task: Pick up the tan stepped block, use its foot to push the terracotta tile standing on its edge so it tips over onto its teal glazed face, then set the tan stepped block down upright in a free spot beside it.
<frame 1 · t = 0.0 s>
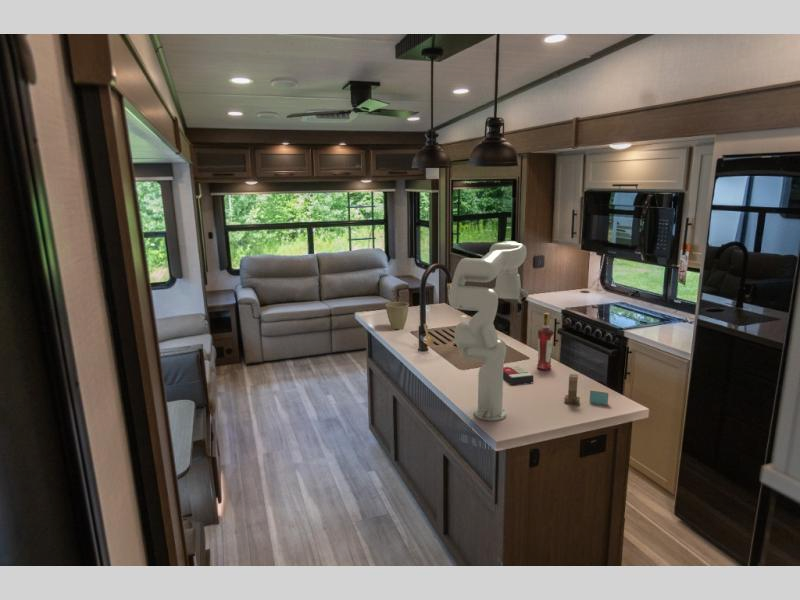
hand: (507, 311, 213), 37 cm above the counter, tool pointing down, fingers open, 9 cm apart
tan stepped block: (571, 402, 209), on the counter
plant pot: (397, 328, 323), on the counter
liquor: (544, 368, 248), on the counter
calculator: (515, 379, 237), on the counter
tile: (598, 403, 208), on the counter
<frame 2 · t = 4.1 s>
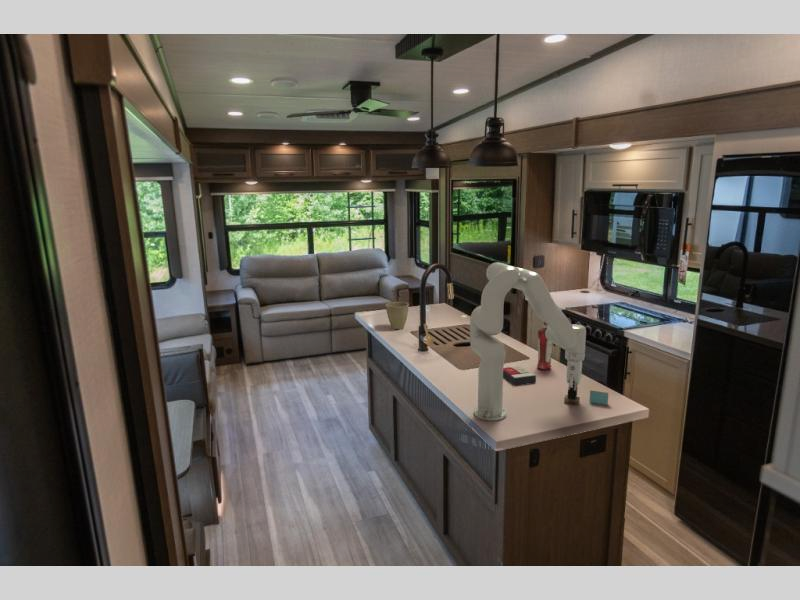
hand: (572, 396, 208), 3 cm above the counter, tool pointing down, fingers closed on tan stepped block, 3 cm apart
tan stepped block: (571, 402, 209), on the counter, touching gripper
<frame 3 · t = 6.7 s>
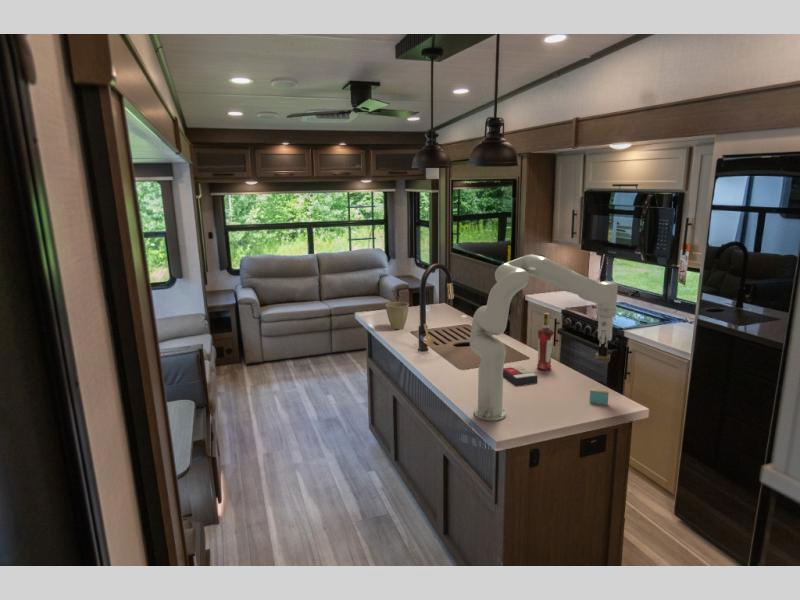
hand: (602, 353, 209), 19 cm above the counter, tool pointing down, fingers closed on tan stepped block, 3 cm apart
tan stepped block: (602, 360, 210), point 17 cm above the counter, touching gripper
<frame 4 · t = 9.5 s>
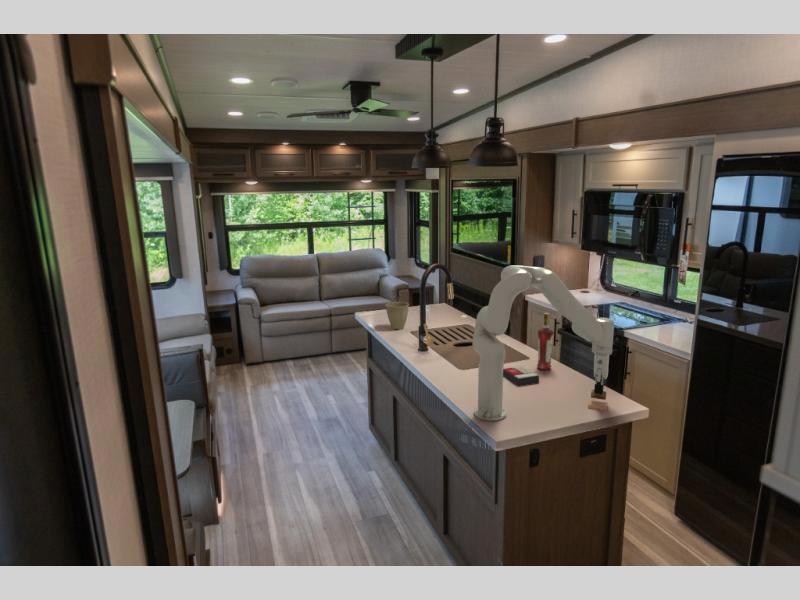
hand: (598, 391, 205), 6 cm above the counter, tool pointing down, fingers closed on tan stepped block, 3 cm apart
tan stepped block: (598, 397, 205), point 3 cm above the counter, touching gripper
tile: (598, 402, 207), point 1 cm above the counter, tilted 90°
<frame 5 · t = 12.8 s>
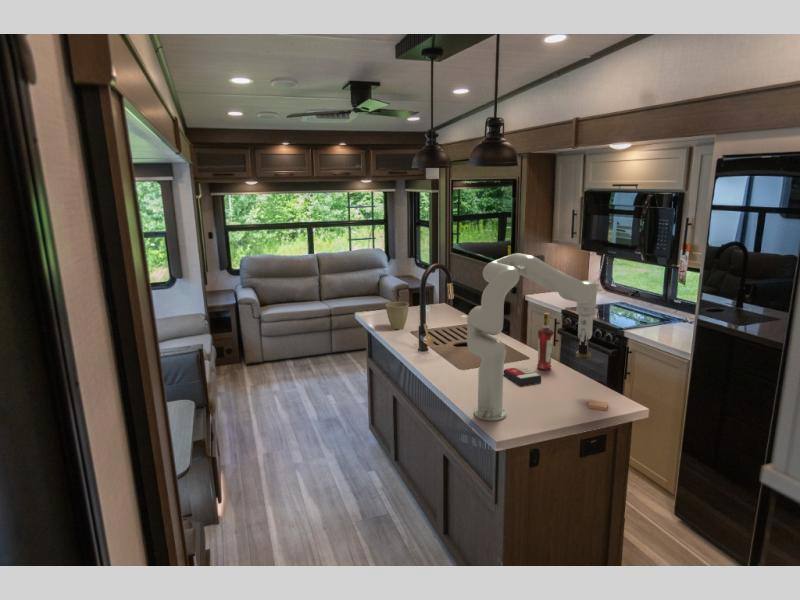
hand: (583, 351, 214), 19 cm above the counter, tool pointing down, fingers closed on tan stepped block, 3 cm apart
tan stepped block: (583, 357, 215), point 16 cm above the counter, touching gripper
when the fingers open (4 cm above the counter, at t = 15.6 s): tan stepped block drops 1 cm, on the counter.
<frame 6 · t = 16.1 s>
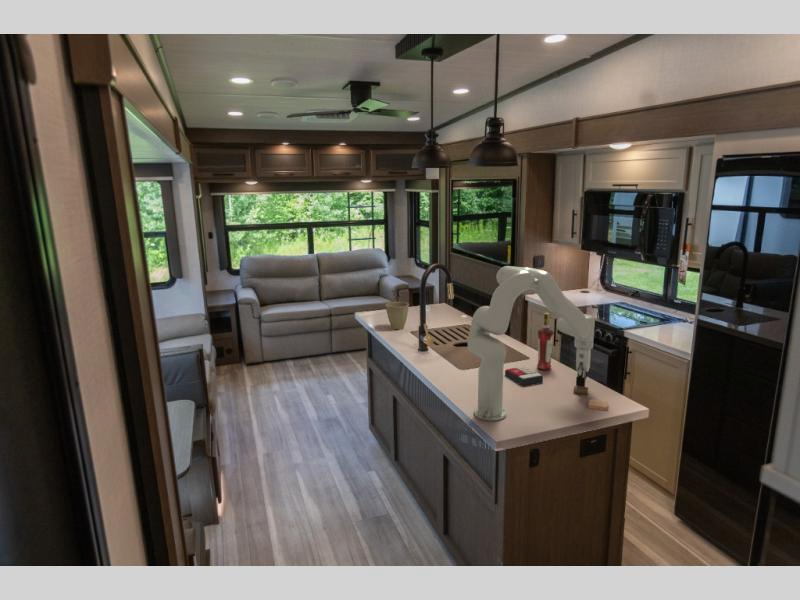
hand: (581, 381, 217), 5 cm above the counter, tool pointing down, fingers open, 8 cm apart
tan stepped block: (580, 392, 218), on the counter
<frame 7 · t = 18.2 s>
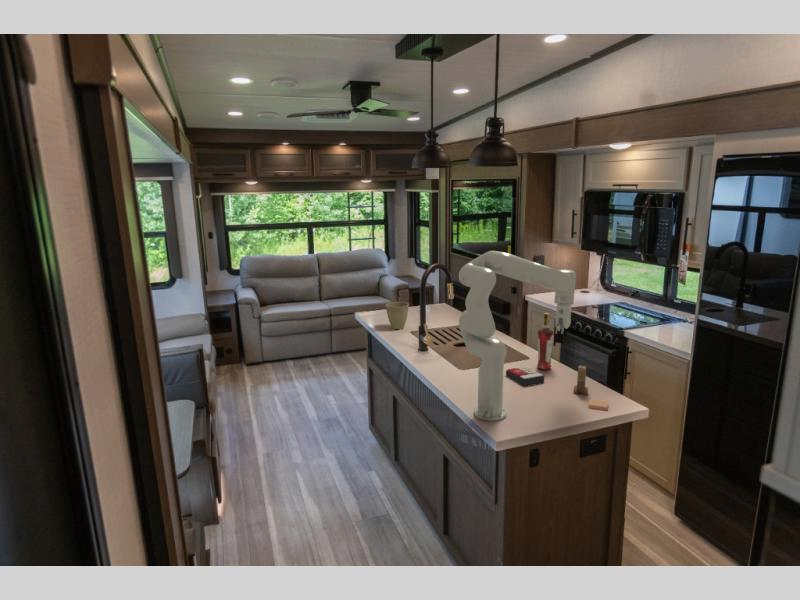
hand: (560, 339, 211), 25 cm above the counter, tool pointing down, fingers open, 9 cm apart
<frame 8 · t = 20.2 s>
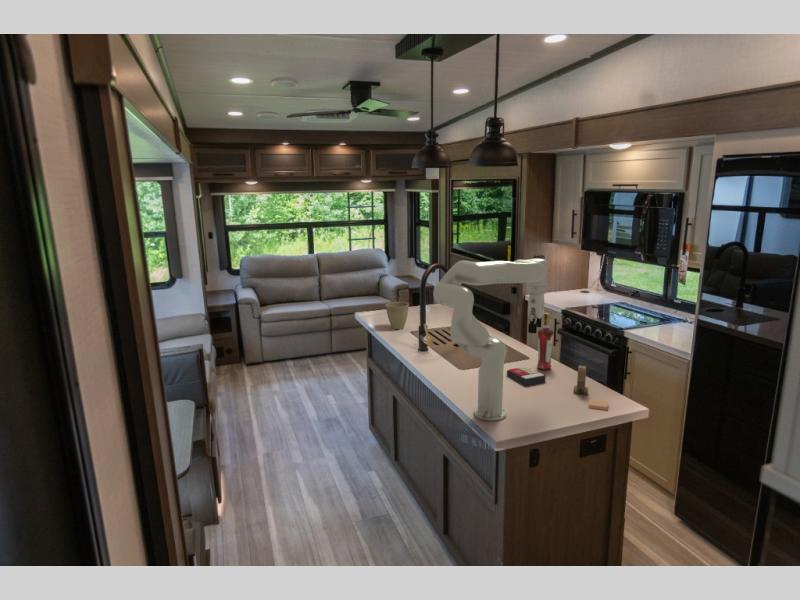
hand: (534, 329, 207), 30 cm above the counter, tool pointing down, fingers open, 9 cm apart
at the end: tile tilted 90°; the gripper is holding nothing; tan stepped block touching counter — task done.
